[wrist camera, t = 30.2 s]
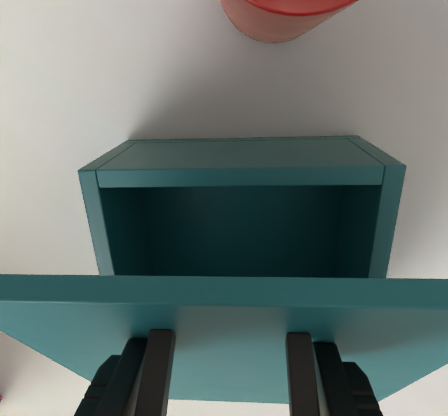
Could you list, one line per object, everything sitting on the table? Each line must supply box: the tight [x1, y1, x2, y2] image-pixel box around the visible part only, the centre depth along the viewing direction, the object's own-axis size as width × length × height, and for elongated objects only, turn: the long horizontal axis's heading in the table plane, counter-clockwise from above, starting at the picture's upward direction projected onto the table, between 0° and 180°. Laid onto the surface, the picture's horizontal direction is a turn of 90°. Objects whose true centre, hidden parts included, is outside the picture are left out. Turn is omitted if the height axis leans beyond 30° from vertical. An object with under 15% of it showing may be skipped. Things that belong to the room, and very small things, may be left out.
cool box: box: [78, 136, 406, 278], centre depth 21 cm, size 14×15×7 cm
